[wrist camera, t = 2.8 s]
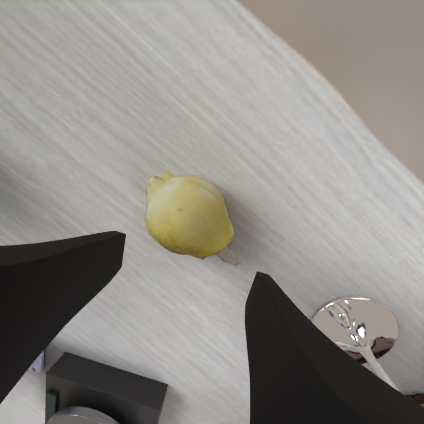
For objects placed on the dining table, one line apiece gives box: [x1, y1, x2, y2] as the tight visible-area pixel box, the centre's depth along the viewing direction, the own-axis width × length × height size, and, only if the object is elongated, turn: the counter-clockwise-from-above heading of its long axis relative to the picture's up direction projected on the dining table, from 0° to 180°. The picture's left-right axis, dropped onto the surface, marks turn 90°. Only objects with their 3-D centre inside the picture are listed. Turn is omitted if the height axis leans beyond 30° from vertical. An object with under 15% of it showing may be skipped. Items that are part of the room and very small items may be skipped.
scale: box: [45, 352, 168, 424], centre depth 24 cm, size 13×12×3 cm
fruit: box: [145, 171, 240, 266], centre depth 15 cm, size 6×6×10 cm
